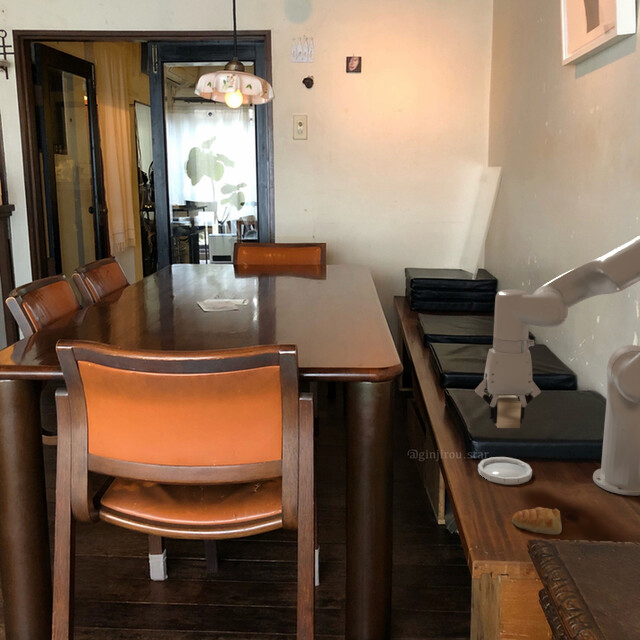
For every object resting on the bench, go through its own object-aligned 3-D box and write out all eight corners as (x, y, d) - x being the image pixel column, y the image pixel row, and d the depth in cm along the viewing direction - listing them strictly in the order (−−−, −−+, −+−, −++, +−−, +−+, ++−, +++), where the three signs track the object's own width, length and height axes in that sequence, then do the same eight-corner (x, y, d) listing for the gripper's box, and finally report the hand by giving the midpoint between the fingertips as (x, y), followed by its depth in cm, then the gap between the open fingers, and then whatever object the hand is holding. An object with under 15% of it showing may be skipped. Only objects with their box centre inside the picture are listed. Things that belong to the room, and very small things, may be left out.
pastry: (513, 533, 136) (514, 515, 135) (510, 516, 142) (511, 499, 141) (563, 537, 134) (564, 518, 133) (558, 520, 140) (559, 502, 140)
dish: (523, 462, 167) (523, 456, 167) (538, 484, 155) (538, 478, 155) (473, 462, 167) (473, 457, 167) (484, 484, 156) (484, 479, 155)
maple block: (513, 419, 161) (515, 395, 160) (519, 427, 156) (521, 402, 155) (492, 419, 161) (493, 395, 160) (497, 427, 156) (498, 402, 155)
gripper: (543, 340, 158) (538, 415, 162) (468, 341, 158) (465, 416, 162) (553, 349, 151) (548, 427, 155) (475, 349, 151) (472, 427, 155)
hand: (506, 420), depth 159 cm, fingers closed on maple block, 5 cm apart
